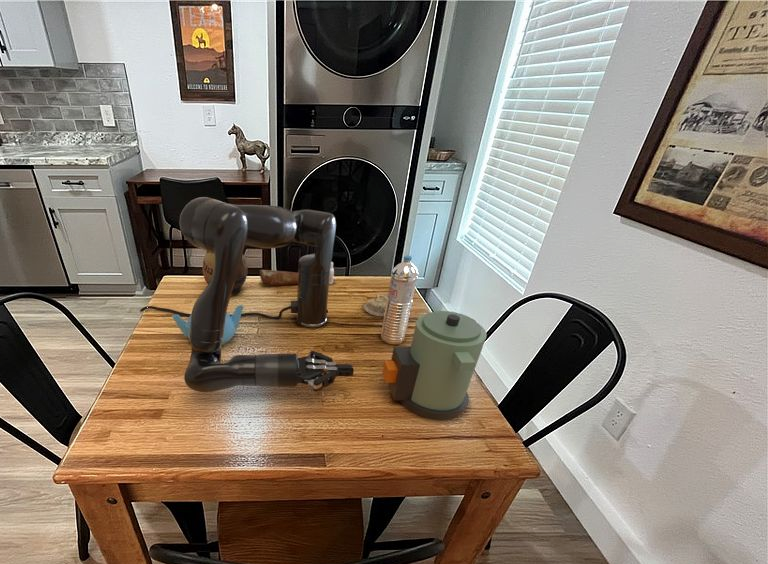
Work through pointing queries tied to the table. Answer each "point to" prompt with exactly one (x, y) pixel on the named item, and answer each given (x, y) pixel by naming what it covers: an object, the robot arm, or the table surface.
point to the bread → (278, 277)
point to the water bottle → (399, 302)
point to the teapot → (229, 328)
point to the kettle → (438, 365)
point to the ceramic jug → (210, 265)
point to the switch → (390, 371)
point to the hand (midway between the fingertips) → (352, 370)
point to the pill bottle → (331, 273)
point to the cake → (376, 305)
